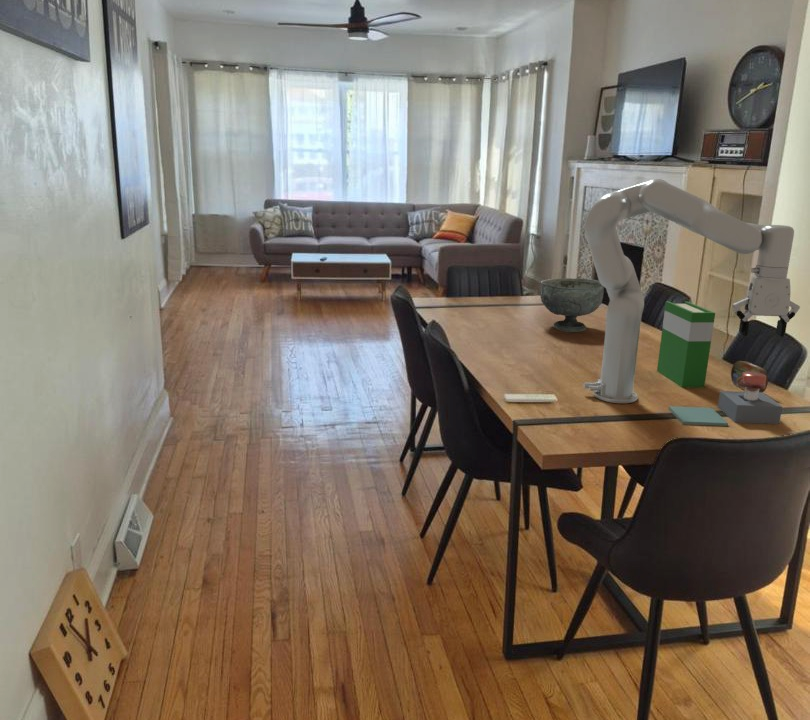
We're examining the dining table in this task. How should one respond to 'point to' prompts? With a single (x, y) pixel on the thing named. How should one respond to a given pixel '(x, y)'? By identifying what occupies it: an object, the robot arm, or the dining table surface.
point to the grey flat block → (749, 408)
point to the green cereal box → (685, 344)
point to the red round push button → (752, 385)
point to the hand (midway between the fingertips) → (761, 335)
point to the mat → (698, 416)
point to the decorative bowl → (571, 300)
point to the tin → (746, 367)
